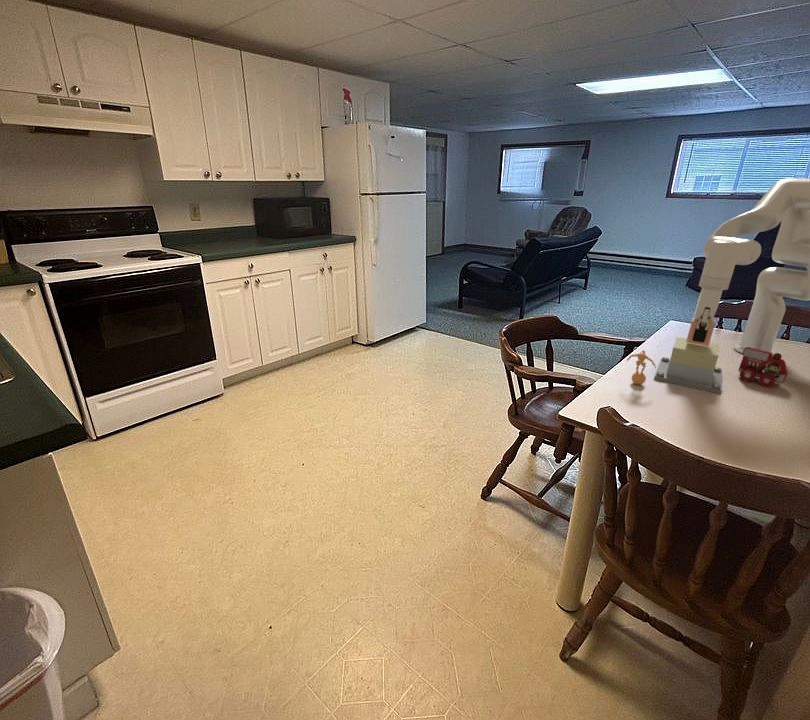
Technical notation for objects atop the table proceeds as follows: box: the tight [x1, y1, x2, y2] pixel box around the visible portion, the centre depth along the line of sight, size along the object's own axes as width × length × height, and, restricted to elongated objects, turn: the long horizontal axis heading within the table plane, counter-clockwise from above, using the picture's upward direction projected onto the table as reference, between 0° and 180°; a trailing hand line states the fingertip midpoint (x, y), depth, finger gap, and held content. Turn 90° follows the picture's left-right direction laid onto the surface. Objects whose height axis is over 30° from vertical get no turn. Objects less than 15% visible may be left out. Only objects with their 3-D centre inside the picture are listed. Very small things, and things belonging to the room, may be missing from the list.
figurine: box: [626, 349, 657, 386], centre depth 136 cm, size 8×6×12 cm
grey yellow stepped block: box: [653, 336, 723, 395], centre depth 142 cm, size 18×18×11 cm
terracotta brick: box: [686, 316, 716, 346], centre depth 138 cm, size 6×6×7 cm
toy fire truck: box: [738, 347, 789, 388], centre depth 140 cm, size 7×12×10 cm, turn 42°
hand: (698, 337), depth 139 cm, fingers closed on terracotta brick, 6 cm apart
